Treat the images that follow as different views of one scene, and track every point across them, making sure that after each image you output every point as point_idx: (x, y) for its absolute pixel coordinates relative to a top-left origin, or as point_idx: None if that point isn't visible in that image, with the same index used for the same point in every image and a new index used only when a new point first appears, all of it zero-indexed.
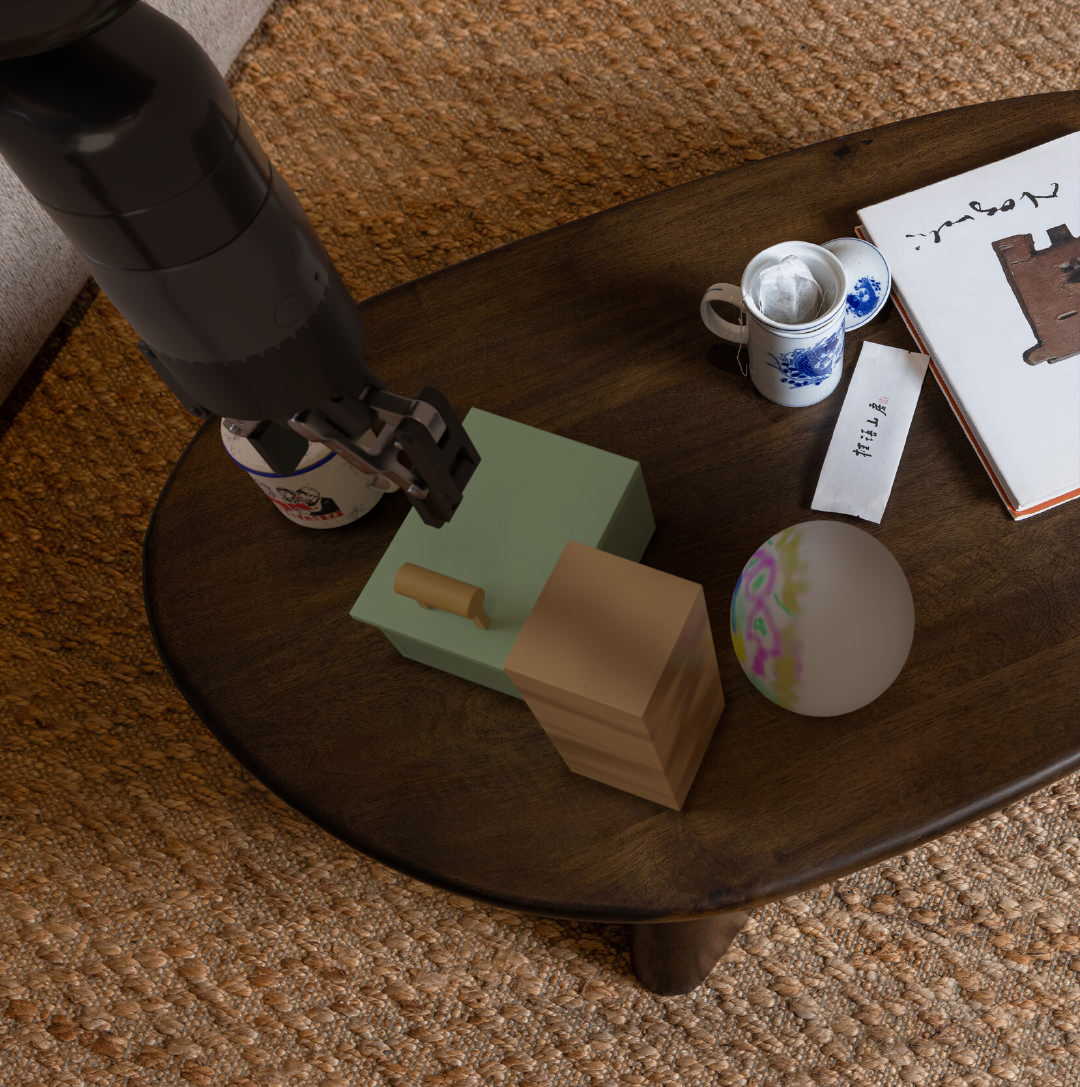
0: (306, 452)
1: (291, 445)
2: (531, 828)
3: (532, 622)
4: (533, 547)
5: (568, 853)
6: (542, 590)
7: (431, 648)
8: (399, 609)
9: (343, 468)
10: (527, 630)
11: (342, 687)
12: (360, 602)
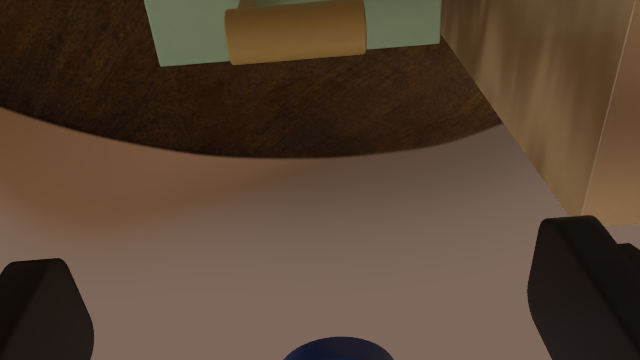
0: (67, 266)
1: (45, 349)
2: (420, 92)
3: (609, 151)
4: None
5: (464, 97)
6: (614, 93)
7: None
8: (218, 32)
9: None
10: (603, 166)
11: (155, 50)
12: (162, 47)
